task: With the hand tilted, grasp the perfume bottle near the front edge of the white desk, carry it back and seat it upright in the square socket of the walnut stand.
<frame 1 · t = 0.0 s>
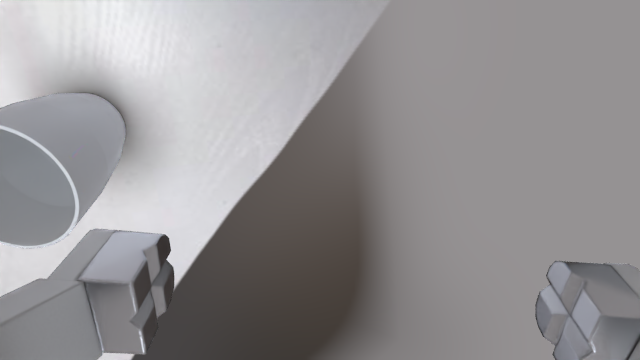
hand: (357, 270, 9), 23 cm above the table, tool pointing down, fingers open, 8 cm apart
cup: (94, 124, 33), on the table
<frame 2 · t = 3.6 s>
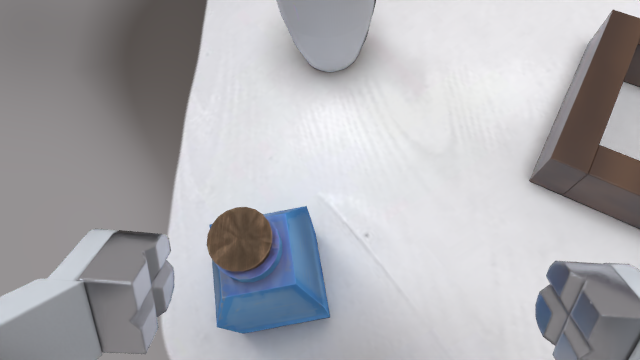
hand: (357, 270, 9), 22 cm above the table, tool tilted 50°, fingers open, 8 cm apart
perfume bottle: (281, 281, 32), on the table
cup: (331, 50, 40), on the table
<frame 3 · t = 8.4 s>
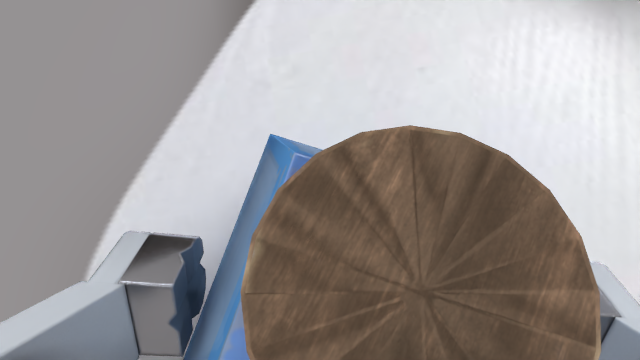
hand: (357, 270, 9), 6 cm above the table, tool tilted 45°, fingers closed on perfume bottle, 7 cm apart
perfume bottle: (339, 304, 15), on the table, touching gripper
when the fingers open (6 cm above the table, at t = 19.3 s): perfume bottle stays where it is, resting in stand.
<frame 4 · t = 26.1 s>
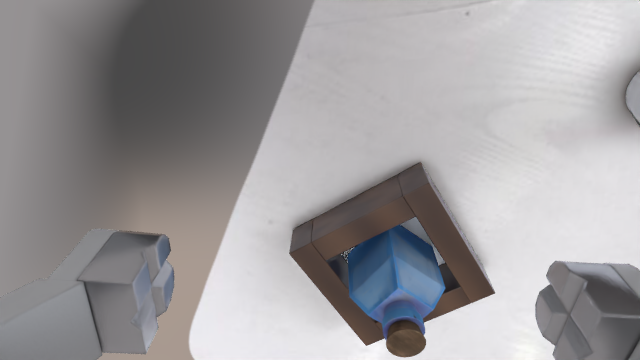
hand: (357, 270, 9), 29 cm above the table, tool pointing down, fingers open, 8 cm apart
stand: (389, 248, 45), on the table
perfume bottle: (389, 249, 45), resting in stand
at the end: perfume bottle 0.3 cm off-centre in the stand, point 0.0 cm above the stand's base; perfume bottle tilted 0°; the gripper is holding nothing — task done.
